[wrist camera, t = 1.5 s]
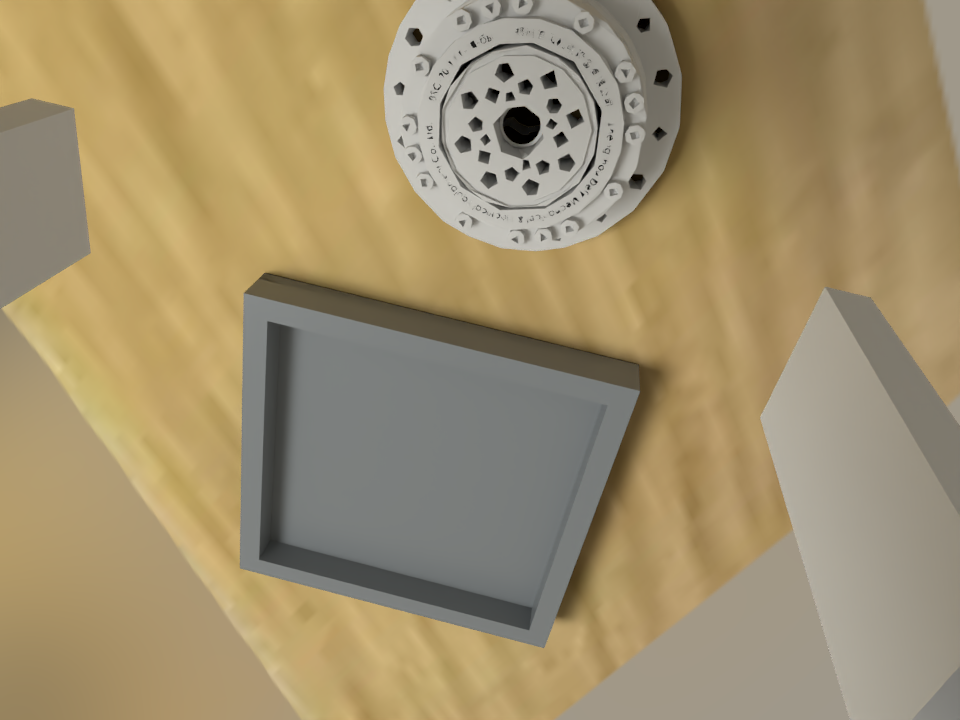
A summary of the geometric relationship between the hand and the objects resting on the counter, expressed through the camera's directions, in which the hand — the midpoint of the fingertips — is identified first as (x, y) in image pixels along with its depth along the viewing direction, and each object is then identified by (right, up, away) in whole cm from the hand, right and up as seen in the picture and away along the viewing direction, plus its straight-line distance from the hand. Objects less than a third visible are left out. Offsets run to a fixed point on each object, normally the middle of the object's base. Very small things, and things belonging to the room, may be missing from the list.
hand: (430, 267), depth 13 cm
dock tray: (-2, -7, +21) cm, 22 cm away
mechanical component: (+3, +8, +13) cm, 15 cm away
